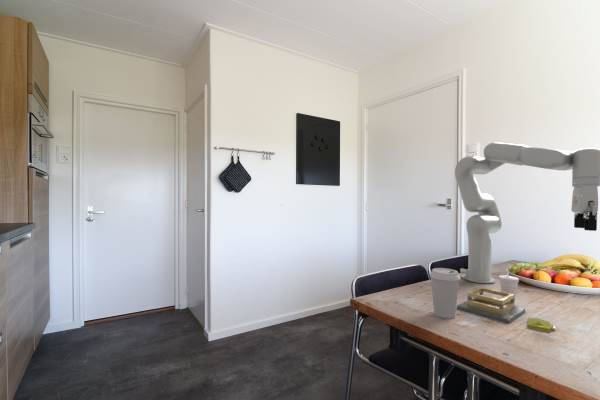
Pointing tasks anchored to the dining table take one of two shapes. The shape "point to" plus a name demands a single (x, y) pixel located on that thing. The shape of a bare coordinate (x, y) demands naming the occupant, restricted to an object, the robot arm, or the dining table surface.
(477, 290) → the collar stand
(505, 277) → the smoothie
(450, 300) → the coffee cup
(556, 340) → the dining table surface
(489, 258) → the robot arm
